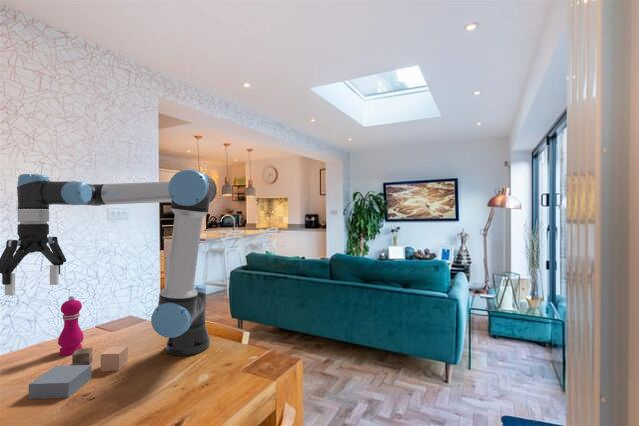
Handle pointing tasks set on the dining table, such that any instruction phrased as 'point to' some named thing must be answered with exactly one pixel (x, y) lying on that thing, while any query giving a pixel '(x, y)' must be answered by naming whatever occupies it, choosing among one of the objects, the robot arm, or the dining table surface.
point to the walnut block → (82, 357)
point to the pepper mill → (70, 327)
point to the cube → (114, 358)
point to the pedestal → (60, 382)
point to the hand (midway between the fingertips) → (33, 289)
